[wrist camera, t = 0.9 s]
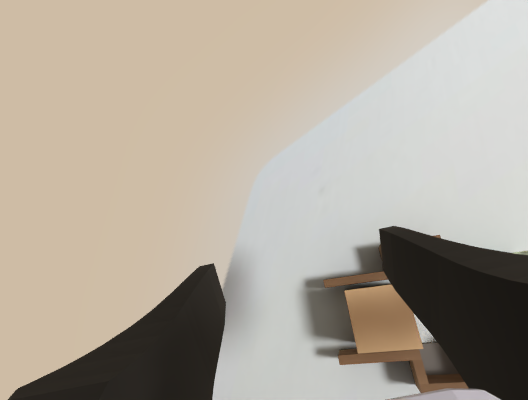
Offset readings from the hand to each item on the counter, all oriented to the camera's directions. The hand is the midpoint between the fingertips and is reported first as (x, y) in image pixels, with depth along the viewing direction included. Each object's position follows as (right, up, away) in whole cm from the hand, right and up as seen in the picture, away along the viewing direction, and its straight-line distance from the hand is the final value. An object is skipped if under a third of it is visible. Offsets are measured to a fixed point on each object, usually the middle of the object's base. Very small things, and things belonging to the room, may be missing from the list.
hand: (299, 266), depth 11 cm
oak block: (+8, -6, +10) cm, 14 cm away
